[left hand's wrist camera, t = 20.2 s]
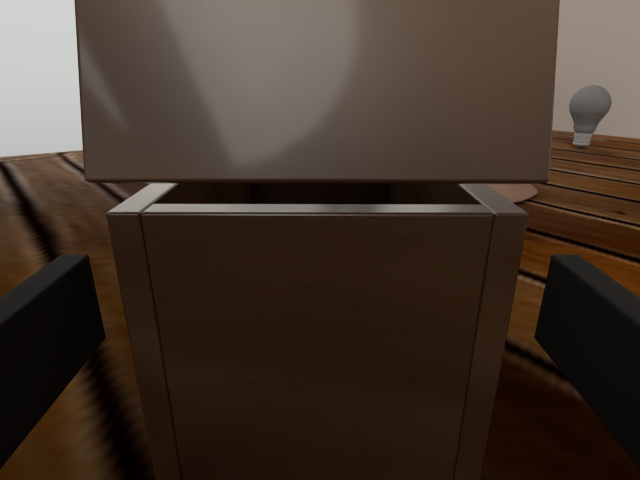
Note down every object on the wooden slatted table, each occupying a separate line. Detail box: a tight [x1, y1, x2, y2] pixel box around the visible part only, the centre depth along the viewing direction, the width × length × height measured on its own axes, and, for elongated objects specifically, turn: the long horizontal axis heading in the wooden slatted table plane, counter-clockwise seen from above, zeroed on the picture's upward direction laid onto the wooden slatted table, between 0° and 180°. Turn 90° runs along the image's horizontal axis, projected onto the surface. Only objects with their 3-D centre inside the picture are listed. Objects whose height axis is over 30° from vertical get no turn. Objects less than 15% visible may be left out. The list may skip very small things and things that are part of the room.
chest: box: [106, 183, 529, 480], centre depth 19 cm, size 16×10×10 cm, turn 0°
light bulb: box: [569, 85, 611, 147], centre depth 73 cm, size 6×6×10 cm
